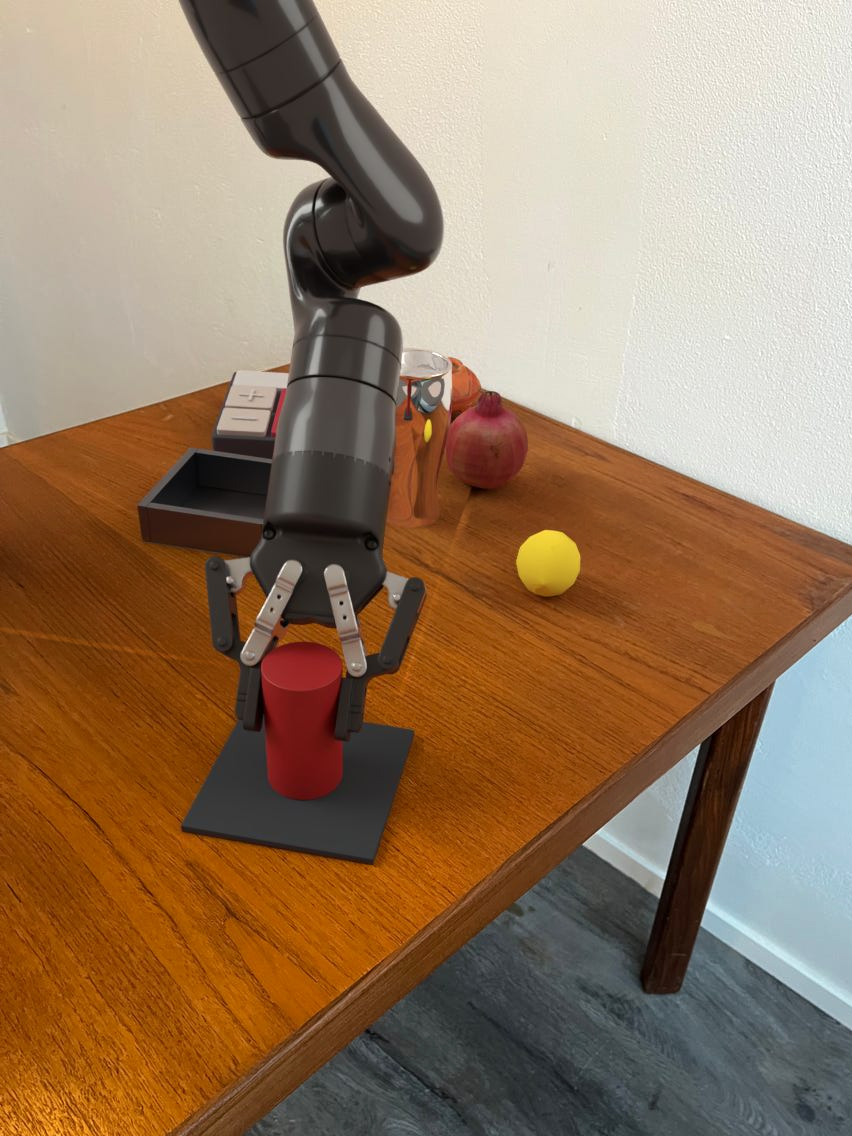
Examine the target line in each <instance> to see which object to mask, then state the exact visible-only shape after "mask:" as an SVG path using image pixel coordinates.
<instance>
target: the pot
mask: <svg viewBox="0 0 852 1136" xmlns="http://www.w3.org/2000/svg"><path fill="white" fill-rule="evenodd" d="M447 358H448V359H449V360H450V361H451V362H452V412H457V411H459V412H460V414H462V413H463V412H465V411H466V410H468V409H470V408H472V407H473V402H474V401H475V400H476V399H477V398H478V397H479V396H480V393H481V391H482V385H481V382H480V379H479V378H478V376H477V375H476V374H475V373H474V372H473V370H472V369H470V368H469V367H467V366H466V365H464V363H463V361H461V360H460V359H458V358H456V357H452V356H448V357H447ZM452 412H451V413H452Z"/></svg>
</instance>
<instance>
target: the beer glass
mask: <svg viewBox="0 0 852 1136" xmlns="http://www.w3.org/2000/svg"><path fill="white" fill-rule="evenodd" d="M451 420H452V362H451V361H450V360H449V359H448V357H447V356H446V355H444V354H442V353H439V352H437V351H433V350H429V349H426V348H425V349H424V348H416V347H403V352H402V362H401V371H400V380H399V388H398V396H397V404H396V414H395V424H396V442H395V453H394V460H395V467H394V472H393V475H392V477H391V486H390V494H389V502H388V511H387V519H386V525H390V526H392V527H397V528H402V529H403V528H404V529H417V528H423V527H427V526H429V525H432V524H433V523H435V522H437V521H438V519H439V518H440V515H441V510H440V503H439V497H438V487H439V486H438V481H439V475H440V470H441V467H442V462H443V458H444V454H445V452H446V443H447V439H448V433H449V428H450V425H451V423H452V422H451Z"/></svg>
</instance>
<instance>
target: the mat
mask: <svg viewBox="0 0 852 1136" xmlns="http://www.w3.org/2000/svg"><path fill="white" fill-rule="evenodd" d="M414 737H415V730H414V729H411V728H405V727H397V726H392V725H386V724H379V723H374V722H368V721H363V725H362V727H361V729H360V731H359V733H355V732H351V737H350V741H349V742H347V741H343V775H342V779H341V781H340V783H339V784H338V786H337V787H336V788H335V789H334V790H333V791H332V792H330V793H328V794H327V795H325V796H322V797H320V798H316V799H311V800H296V799H291V798H287V797H285V796H283V795H281V794H279V793H278V792H276V791H275V790H274V789H273V788H272V786H271V785H270V783H269V780H268V770H267V754H266V739H265V723H264V716H263V723H262V729H261V731H260V732H254V731H247V730H244V729H243V720H239V719H237V721H236V723H235V725H234V726H233V728H232V730H231V732H230V734H229V736H228V738H227V740H226V742H225V743H224V745H223V747H222V749H221V750H220V753H219V754H218V756H217V758H216V760H215V762H214V763H213V765H212V767H211V769H210V771H209V772H208V775H207V777H206V778H205V780H204V782H203V783H202V786H201V787H200V789H199V791H198V793H197V795H196V797H195V798H194V800H193V802H192V804H191V806H190V807H189V809H188V811H187V814H186V815H185V816H184V819H183V820H182V822H181V824H180V830H181V832H185V833H190V834H196V835H202V836H208V837H213V838H220V839H225V840H231V841H237V842H241V843H248V844H253V845H258V846H265V847H269V848H275V849H282V850H286V851H287V850H288V851H293V852H299V853H305V854H310V855H316V856H322V857H328V858H331V859H332V858H333V859H338V860H345V861H350V862H355V863H361V864H367V865H374V863H375V860H376V858H377V857H376V856H377V855H378V850H379V847H380V844H381V841H382V838H383V835H384V832H385V828H386V825H387V822H388V819H389V816H390V813H391V810H392V806H393V803H394V799H395V796H396V794H397V790H398V787H399V785H400V782H401V778H402V775H403V772H404V769H405V766H406V764H407V763H406V762H407V760H408V756H409V754H410V750H411V747H412V743H413V740H414Z"/></svg>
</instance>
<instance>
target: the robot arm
mask: <svg viewBox="0 0 852 1136" xmlns="http://www.w3.org/2000/svg"><path fill="white" fill-rule="evenodd" d="M178 3H179V5H180V8H181V10H182V13H183V15H184V17H185V19H186V21H187V24H188V26H189V29H190V30H191V32H192V34H193V36H194V39H195V41H196V43H197V45H198V46H199V49H200V50H201V52H202V54H203V56H204V58H205V59H206V61H207V63H208V65H209V67H210V68H211V70H212V72H213V73H214V76H215V77H216V79H217V81H218V82H219V84H220V86H221V88H222V90H223V91H224V93H225V95H226V96H227V98H228V100H229V102H230V104H231V105H232V107H233V108H234V111H235V112H236V114H237V115H238V117H239V118H240V121H241V123H242V124H243V126H244V128H245V130H246V131H247V133H248V134H249V136H250V137H251V138H250V139H252V141H253V142H254V143H255V145H256V146H257V148H258V149H259V150H260V151H261V152H262V153H263V154H264V155H265V156H267V157H268V158H272V159H274V160H281V161H282V160H284V161H286V160H287V161H304V162H310V163H313V164H316V165H317V166H319V167H320V168H322V169H323V170H324V172H326V173H327V174H328V175H329V177H327V178H324V179H320V180H317V181H315V182H312V183H310V184H309V185H306V186H305V187H303V188H302V190H300V191H299V192H298V193H297V194H296V196H295V197H294V199H293V201H292V203H291V204H290V206H289V208H288V211H287V213H286V216H285V220H284V224H283V230H282V246H283V247H282V248H283V257H284V263H285V269H286V277H287V284H288V293H289V302H290V307H291V314H292V323H293V330H294V331H293V332H294V334H293V335H294V336H293V341H292V347H291V355H290V362H289V369H288V373H289V376H288V383H287V389H286V394H285V399H284V402H283V406H282V409H281V412H280V416H279V420H278V424H277V430H276V437H275V444H274V451H273V458H272V465H271V472H270V479H269V486H268V493H267V500H266V507H265V515H264V522H263V529H262V536H261V539H260V542H259V544H258V545H257V547H256V548H255V549H254V551H253V552H252V554H251V556H250V557H240V558H233V559H222V558H221V557H220V556H217V555H214V556H209V557H208V558H207V560H206V561H205V563H204V572H205V581H206V592H207V602H208V612H209V623H210V633H211V643H212V647H213V649H214V650H215V651H217V652H219V653H221V654H222V655H223V656H225V657H227V658H229V659H232V660H234V661H236V663H238V666H239V677H238V684H237V691H236V697H235V698H236V699H235V700H236V701H235V705H234V713H235V718H236V720H238V719H239V720H243V729H244V730H247V731H254V732H260V731H261V729H262V723H263V716H264V707H263V692H262V676H261V664H262V661H263V659H264V658H265V656H266V655H267V654H268V653H269V652H270V651H272V650H273V649H275V648H277V647H279V644H280V642H282V641H283V639H284V638H285V636H286V634H287V633H288V631H289V629H290V627H291V625H297V626H306V625H312V624H316V625H318V626H321V627H324V628H326V629H335V630H336V631H337V635H338V638H339V641H340V645H341V649H342V651H343V652H342V653H343V658H344V661H345V666H346V672H345V677H344V676H342V679H341V687H340V695H339V703H338V711H337V719H336V727H335V740H338V741H347V742H349V741H350V737H351V732H355V733H359V731H360V729H361V727H362V725H363V722H364V719H365V718H364V716H365V708H366V699H367V693H368V686H369V683H370V682H371V681H372V680H374V678H377V677H381V676H384V675H395V674H396V673H398V672H399V671H400V669H401V667H402V663H403V661H404V658H405V655H406V652H407V650H408V648H409V645H410V642H411V640H412V637H413V634H414V631H415V628H416V626H417V623H418V621H419V618H420V615H421V612H422V610H423V608H424V606H425V605H424V604H425V602H426V599H427V594H428V593H427V587H426V584H425V582H424V580H423V579H422V578H420V577H418V576H412V577H410V578H408V577H406V576H402V575H399V574H396V573H393V572H391V571H388V568H387V565H386V563H385V560H384V556H383V553H384V552H383V550H384V542H385V534H386V527H387V523H386V519H387V511H388V502H389V494H390V486H391V477H392V475H393V472H394V467H395V460H394V453H395V442H396V424H395V414H396V404H397V396H398V388H399V380H400V371H401V362H402V352H403V348H404V336H403V331H402V326H401V325H400V323H399V321H398V319H397V318H396V317H395V316H394V315H393V314H392V313H391V312H390V311H388V309H386V308H384V307H383V306H381V305H379V304H376V303H374V302H371V301H368V300H366V299H365V300H364V299H361V298H359V294H360V293H361V289H362V288H363V287H368V286H372V285H376V284H381V283H385V282H390V281H394V280H398V279H399V280H400V279H402V278H407V277H411V276H414V275H417V274H419V273H422V272H423V271H426V270H427V269H428V268H429V267H430V266H432V265H433V264H434V263H435V261H436V260H437V258H438V257H439V255H440V253H441V251H442V247H443V243H444V238H445V219H444V213H443V207H442V204H441V200H440V197H439V194H438V192H437V189H436V187H435V185H434V184H433V182H432V180H431V178H430V177H429V174H428V173H427V171H426V170H425V168H424V167H423V165H421V163H420V162H419V160H418V159H417V158H416V156H415V155H414V154H413V153H412V152H411V150H410V149H409V148H408V147H407V146H406V144H405V143H404V142H403V140H401V138H400V137H399V136H398V135H397V134H396V132H395V131H394V130H393V129H392V127H391V126H390V125H389V124H388V123H387V122H386V120H385V119H384V117H382V115H381V114H380V113H379V111H378V110H377V108H376V107H375V105H373V104H372V103H371V101H370V100H369V99H368V98H367V97H366V96H365V94H363V92H362V91H361V90H360V88H359V87H358V86H357V84H356V83H355V82H354V81H353V79H352V78H351V75H350V74H349V72H348V70H347V67H346V65H345V63H344V61H343V59H342V58H341V55H340V53H339V51H338V49H337V47H336V45H335V43H334V41H333V39H332V37H331V35H330V33H329V31H328V28H327V27H326V24H325V22H324V20H323V18H322V17H321V14H320V12H319V11H318V8H317V6H316V4H315V1H314V0H178ZM251 576H254V578H255V580H256V582H257V583H258V585H259V587H260V588H261V590H262V592H263V594H264V596H265V598H266V600H265V601H264V603H263V605H262V607H261V609H260V610H259V613H258V614H257V616H256V618H255V620H254V626H253V629H252V631H251V632H250V634H249V636H248V638H247V640H246V642H245V641H243V640H241V639H242V638H241V631H240V619H239V612H238V600H237V596H238V595H241V594H242V593H243V592H244V591H245V589H246V582H247V580H248V579H249V578H250V577H251ZM383 589H385V590H386V591H387V592H388V597H387V602H388V605H389V607H390V609H391V610H393V611H394V613H393V616H392V619H391V622H390V624H389V626H388V629H387V632H386V634H385V638H384V639H383V642H382V645H381V648H380V651H379V652H375V653H371V654H368V653H367V648H366V644H365V643H366V642H365V637H364V633H363V628H362V625H361V620H360V616H359V615H360V613H361V612H362V611H363V610H364V609H365V608H366V607H367V606H368V605H369V604H370V603H371V602H372V601H373V600H374V599H375V598H376V597H377V595H378V594H379V593H380V592H381V591H382V590H383Z"/></svg>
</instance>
